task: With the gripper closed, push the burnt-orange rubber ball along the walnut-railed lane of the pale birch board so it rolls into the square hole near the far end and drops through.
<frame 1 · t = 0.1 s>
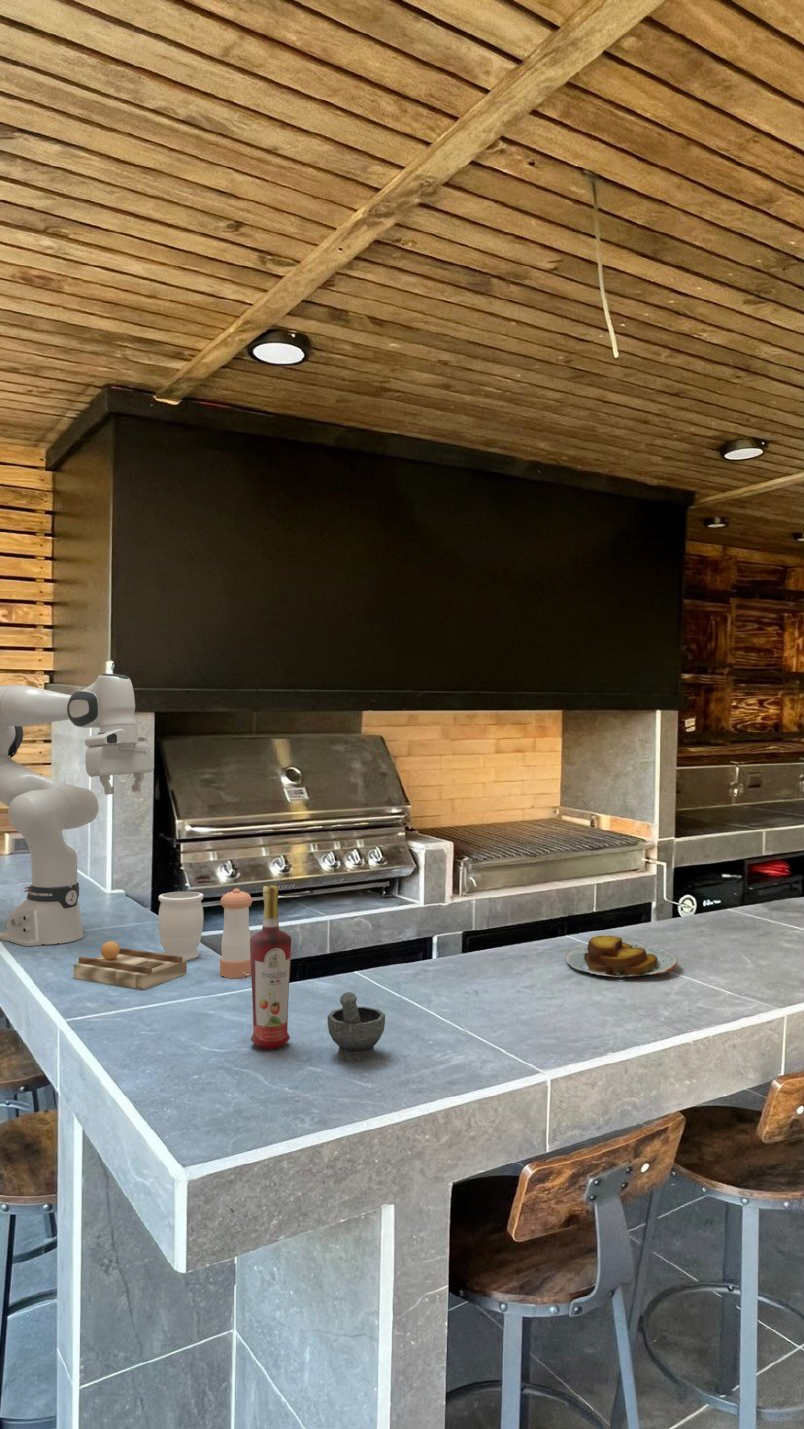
hand: (123, 792, 236), 39 cm above the countertop, tool pointing down, fingers open, 8 cm apart
liquor: (270, 1046, 167), on the countertop
pepper shaker: (236, 974, 213), on the countertop
lane board: (130, 975, 211), on the countertop
food on plate: (620, 969, 220), on the countertop
jar: (180, 958, 228), on the countertop
mortar and pestle: (355, 1057, 162), on the countertop
ball: (110, 950, 214), point 5 cm above the countertop, touching lane board
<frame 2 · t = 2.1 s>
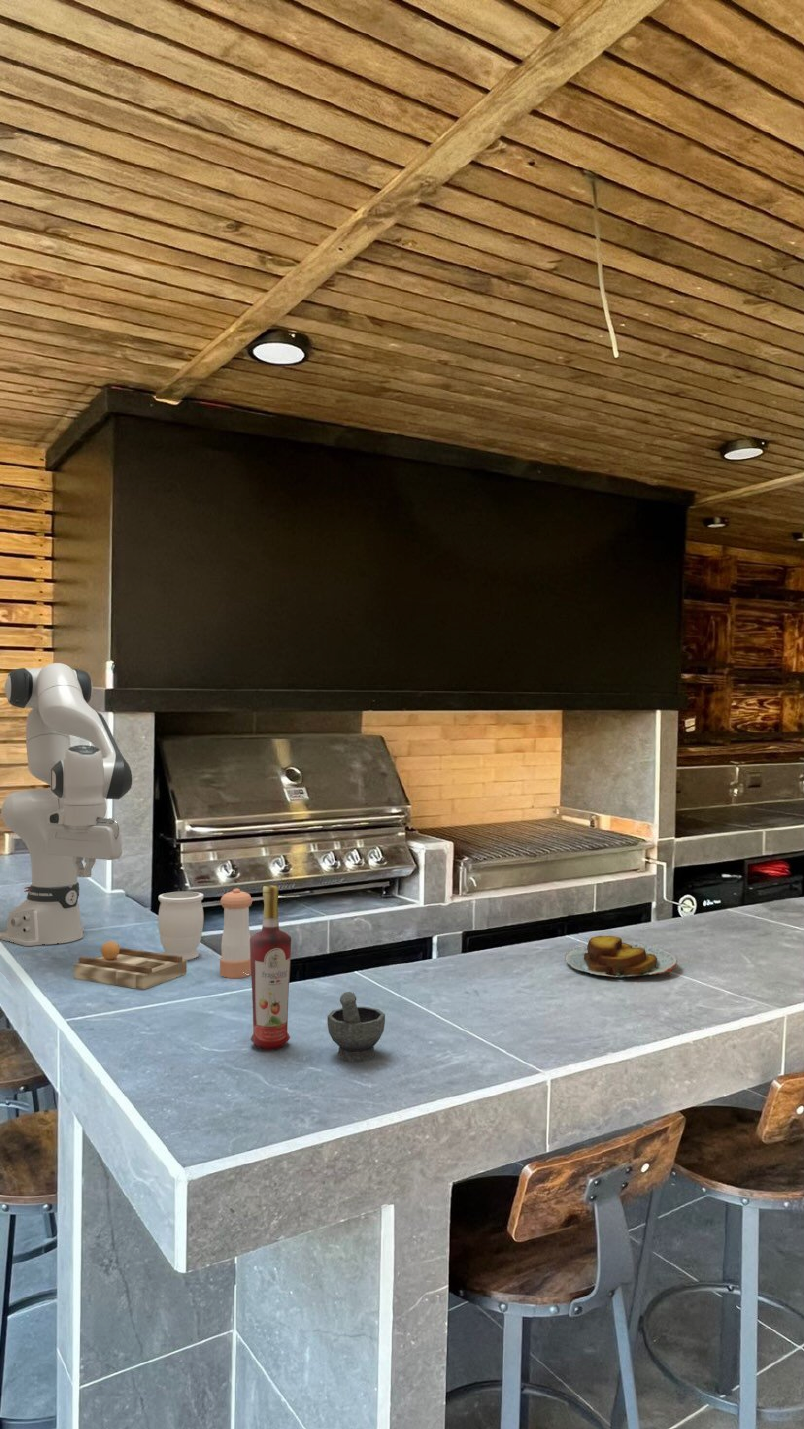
hand: (83, 876, 218), 21 cm above the countertop, tool pointing down, fingers closed
nothing on the countertop moved.
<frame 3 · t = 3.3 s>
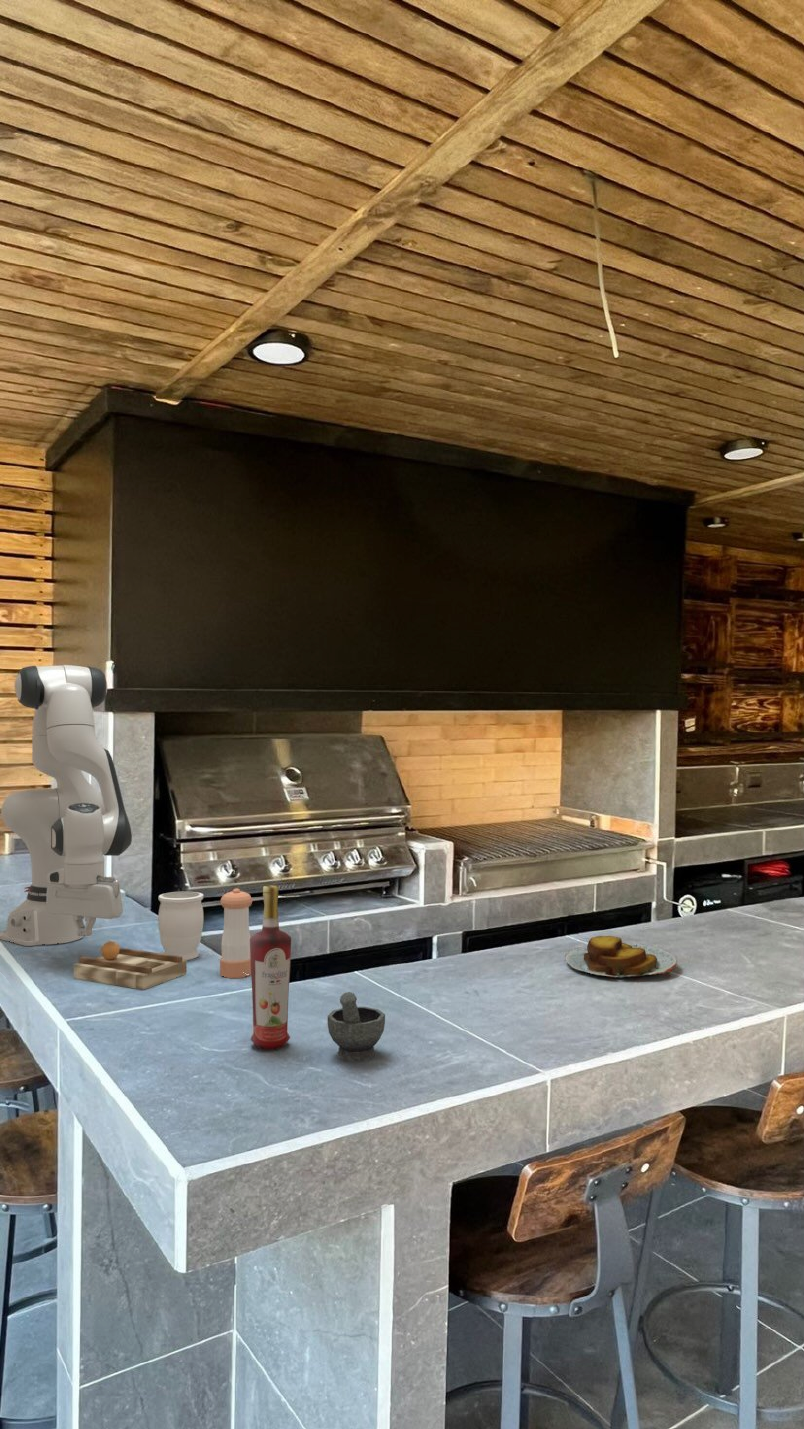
hand: (84, 935, 217), 8 cm above the countertop, tool pointing down, fingers closed
nothing on the countertop moved.
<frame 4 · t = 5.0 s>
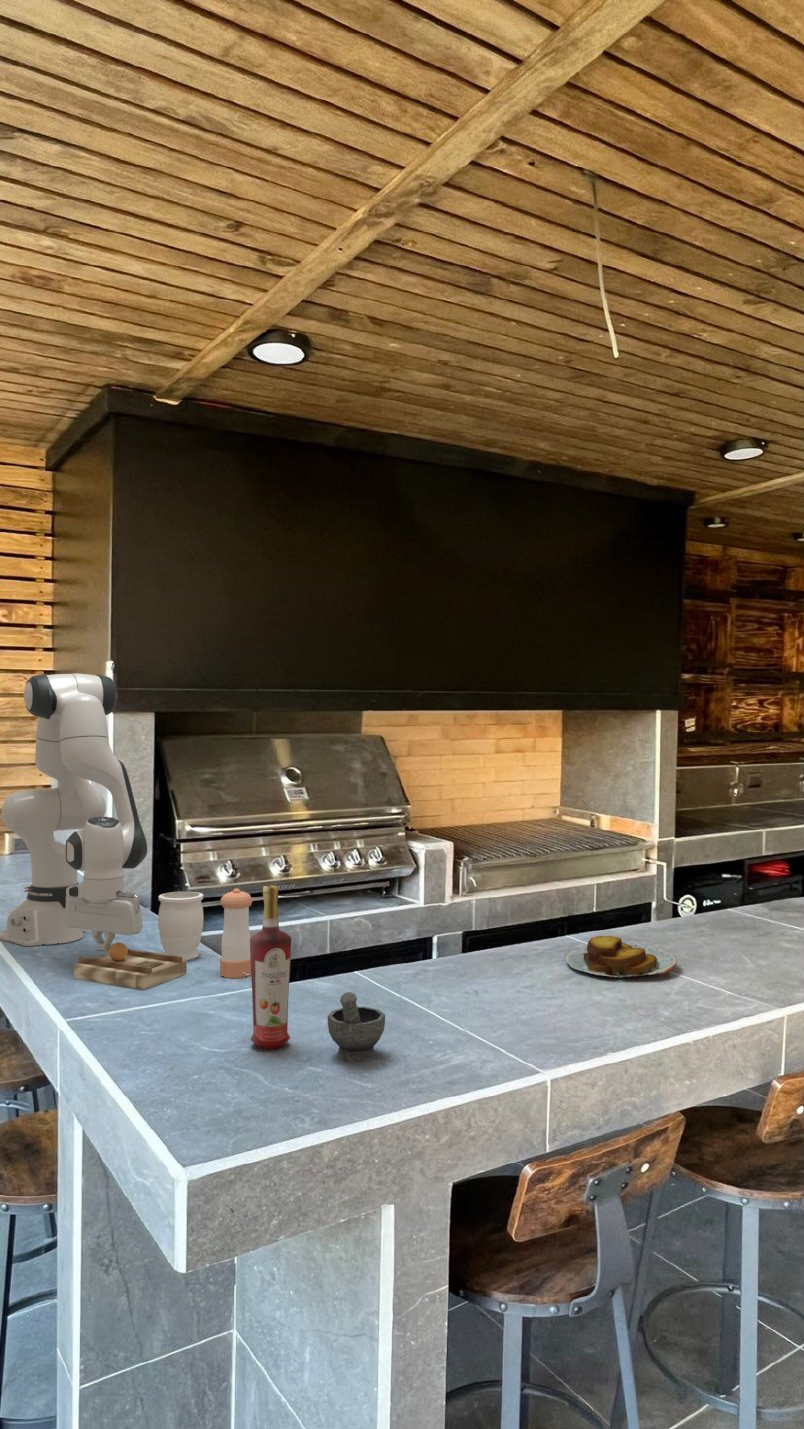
hand: (103, 950, 215), 5 cm above the countertop, tool pointing down, fingers closed
ball: (118, 951, 213), point 5 cm above the countertop, tilted 66°, touching lane board
everything else where it was.
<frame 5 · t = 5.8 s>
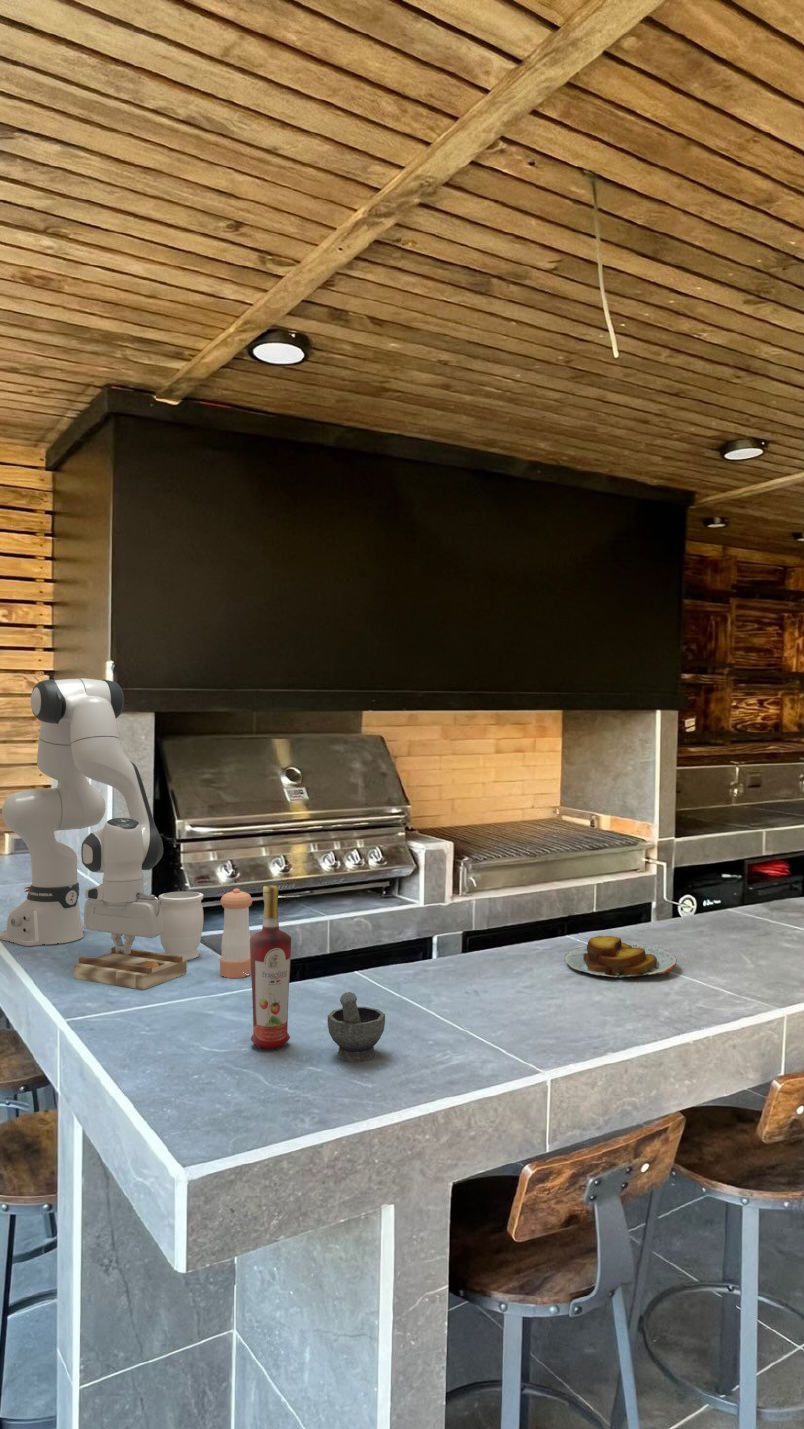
hand: (123, 953, 212), 5 cm above the countertop, tool pointing down, fingers closed
ball: (150, 970, 209), point 2 cm above the countertop, tilted 6°
everything else where it was.
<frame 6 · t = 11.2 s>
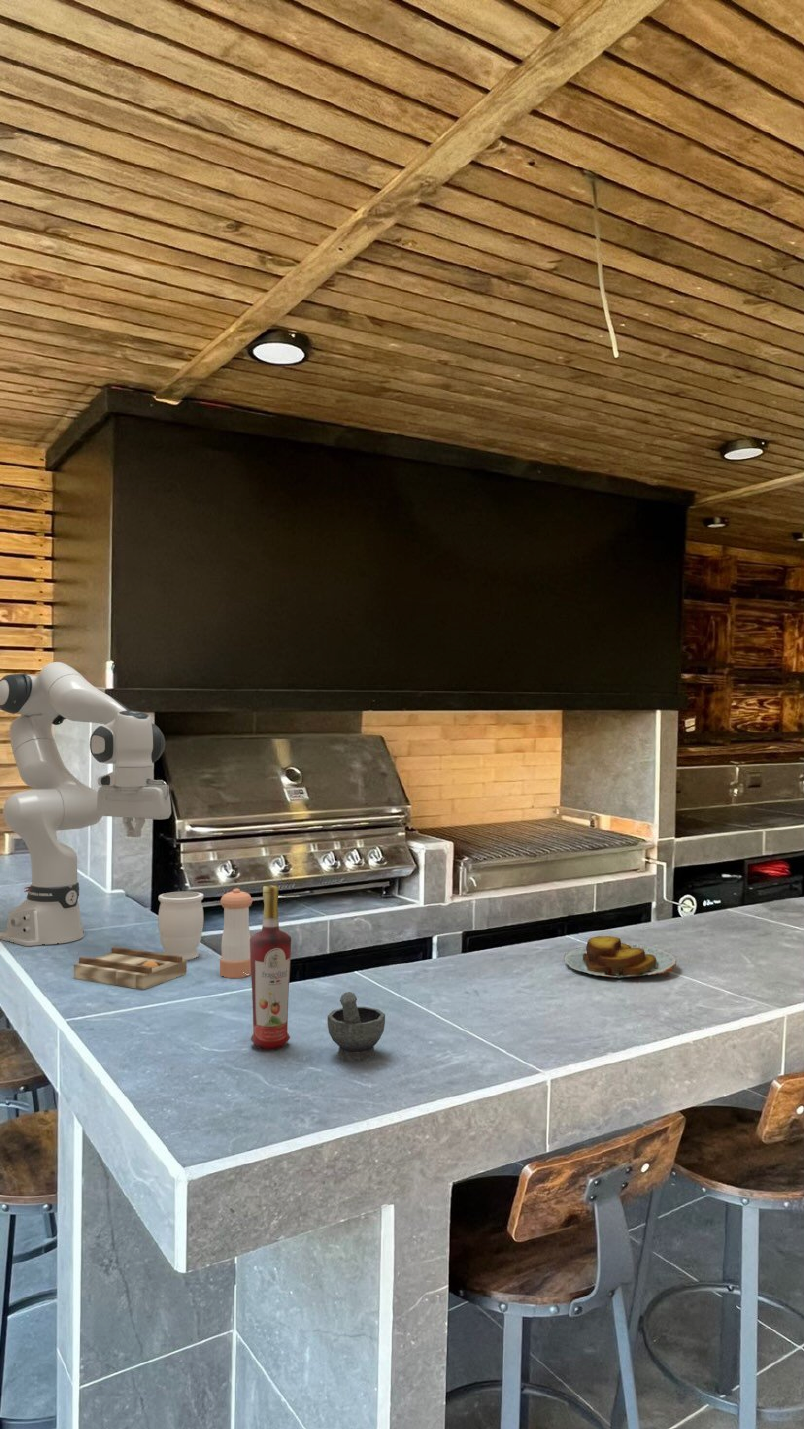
hand: (133, 836, 226), 29 cm above the countertop, tool pointing down, fingers closed
ball: (149, 970, 209), point 2 cm above the countertop
everything else where it was.
at the end: ball 0.5 cm from the target spot on the lane board, point 2.0 cm above the lane board's base; ball touching countertop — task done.
